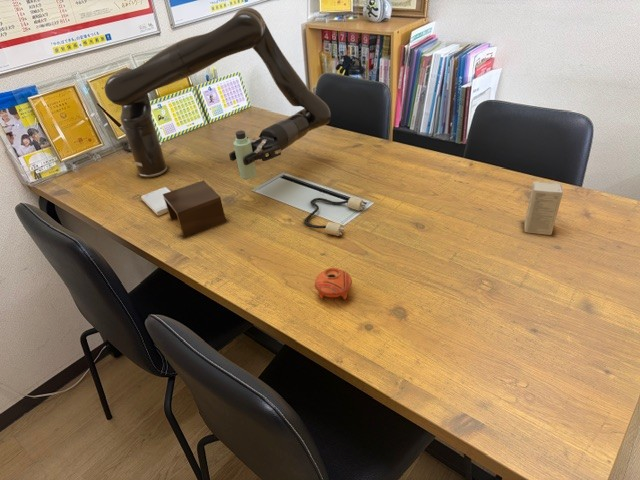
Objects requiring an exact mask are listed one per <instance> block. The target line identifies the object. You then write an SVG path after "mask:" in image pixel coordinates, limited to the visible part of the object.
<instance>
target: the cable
mask: <svg viewBox="0 0 640 480" xmlns="http://www.w3.org/2000/svg"><path fill="white" fill-rule="evenodd" d="M316 201H321V202H326V203H328V204H331V205H344V204H347V206H348V208H350V209H353V210H356V211H359V212H360V211H363V207H366V204H365V203H364V200H363V199H360V198H358V197H355V196H351V197H349V199H346V200H343V201H334V200H330V199H327V198H323V197H315V198H312V199H311V200H310V205H312V206H313V207H315V209H314V210H313V211H312V212H311V213H309V215H307V216H306V218H305V219H304V224H305V225H306V226H307V227H309V228H314V229H325V233H326V234H329V235H333V236H337V237H339V236H343V232H344V231H345V228H343V226H342V223H337V222H333V221H328V222H327V224H326V225H317V224H312V223H309V220H310V219H311V218H312V217H313V216H314V215H315V214H317V212H318V211H319V210H320V206H319V205H318V204H316V203H315V202H316Z"/></svg>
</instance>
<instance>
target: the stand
mask: <svg viewBox="0 0 640 480" xmlns="http://www.w3.org/2000/svg"><path fill="white" fill-rule="evenodd" d="M170 191H171V192H168V193H165V194H163V197H164V200H165V203H166V206H167V209H168V212H167V213H168V216H169V219H170V220H171V221H173V220H176V219H177V220H178V223H179V227H180V230H181V233H182V236H183V238H189V237H190V236H194V235H196V234H199V233H200V232H203V231H206V230H208V229H211V228H213V227H216V226H219V225H221V224H224V223H226V222H227V220H226V215H225V211H224V206H223V203H222V198H221V196H220V195H219V194H218V193H217V192H216V190H214V189H213V188H212V187H211V186H210V185H209V184H208V183H207V182H206V181H205V180H200V181H197V182H194V183H192V184H189V185H186V186H183V187H180V188H177V189H174V190H170Z"/></svg>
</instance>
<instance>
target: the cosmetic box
mask: <svg viewBox="0 0 640 480" xmlns="http://www.w3.org/2000/svg"><path fill="white" fill-rule="evenodd" d="M531 187H532V188H531V191H530V194H529V195H530V196H529V200H528V205H527V209H526V214H525V219H524V222H523V223H524V224H523V225H524V228H523V229H524V233H529V234H538V235H547V236H548V235H549V236H552V235H553V231H554V227H555V224H556V219H557V216H558V212H559V208H560V205H561V202H562V201H561V200H562V197H563V194H564V190H563V185H562V183H560V182H548V181H547V182H546V181H533V182H532V186H531Z"/></svg>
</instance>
